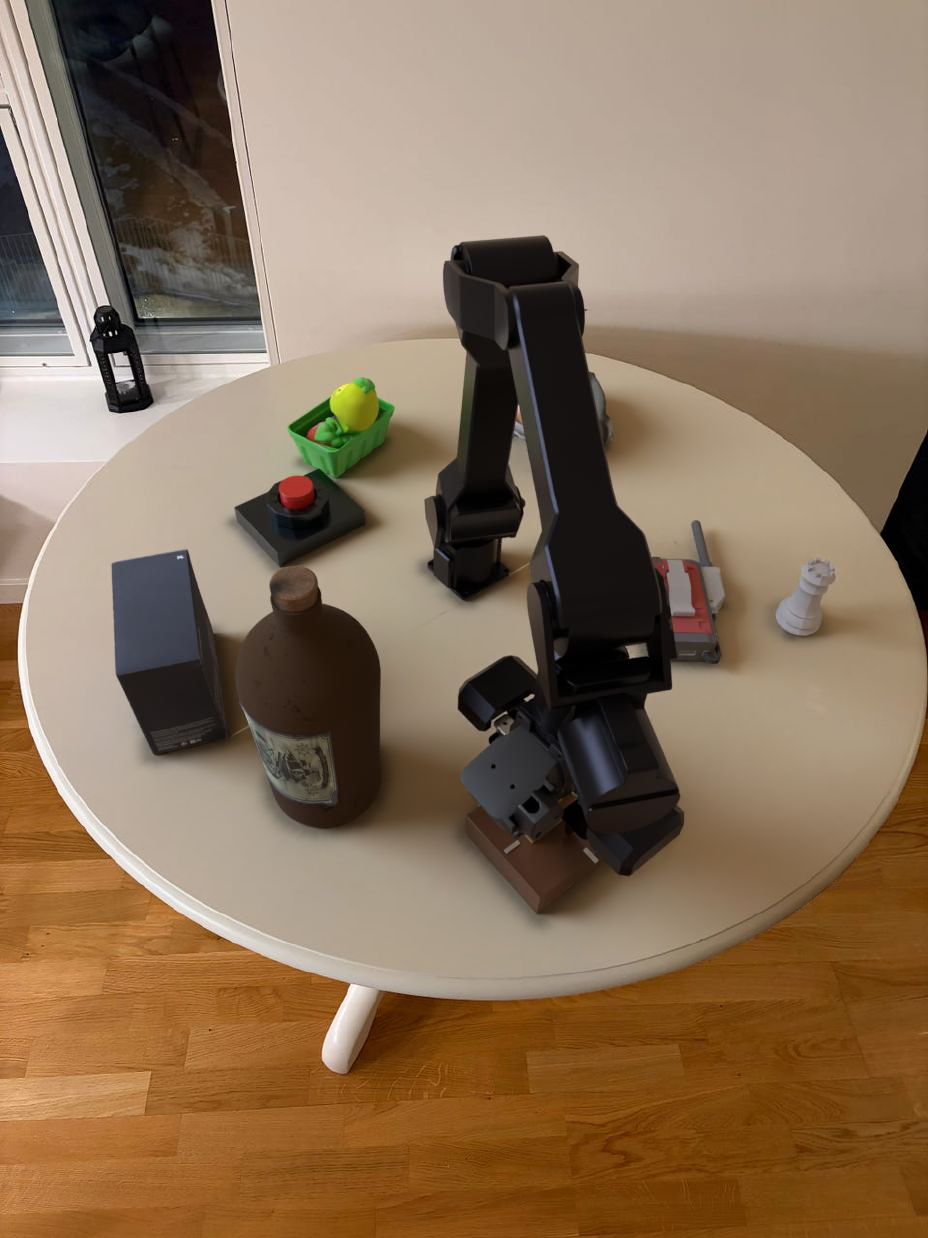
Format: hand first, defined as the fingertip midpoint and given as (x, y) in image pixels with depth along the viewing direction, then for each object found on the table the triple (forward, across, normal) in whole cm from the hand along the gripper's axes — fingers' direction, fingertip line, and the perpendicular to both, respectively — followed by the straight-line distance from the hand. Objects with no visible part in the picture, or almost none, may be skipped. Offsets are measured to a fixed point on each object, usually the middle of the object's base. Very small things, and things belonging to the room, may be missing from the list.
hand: (553, 813), depth 73 cm
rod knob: (0, 0, 0) cm, 0 cm away
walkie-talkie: (+4, -12, +29) cm, 32 cm away
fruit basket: (+4, -52, +15) cm, 54 cm away
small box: (+4, -32, -17) cm, 36 cm away
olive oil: (+4, -16, -12) cm, 20 cm away
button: (0, -45, +4) cm, 45 cm away
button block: (+4, -45, +4) cm, 45 cm away
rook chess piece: (+4, -2, +36) cm, 36 cm away
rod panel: (+4, 0, 0) cm, 4 cm away
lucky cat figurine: (+4, -40, +37) cm, 55 cm away
